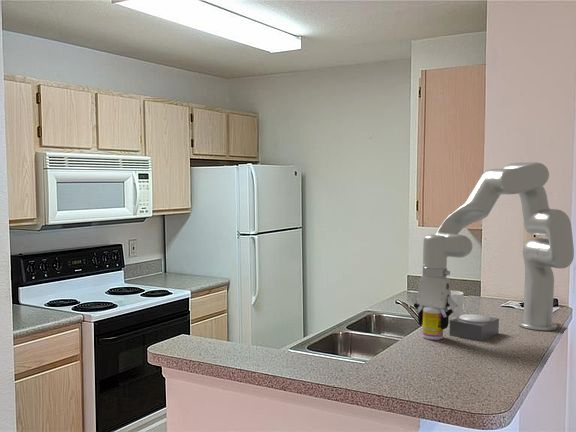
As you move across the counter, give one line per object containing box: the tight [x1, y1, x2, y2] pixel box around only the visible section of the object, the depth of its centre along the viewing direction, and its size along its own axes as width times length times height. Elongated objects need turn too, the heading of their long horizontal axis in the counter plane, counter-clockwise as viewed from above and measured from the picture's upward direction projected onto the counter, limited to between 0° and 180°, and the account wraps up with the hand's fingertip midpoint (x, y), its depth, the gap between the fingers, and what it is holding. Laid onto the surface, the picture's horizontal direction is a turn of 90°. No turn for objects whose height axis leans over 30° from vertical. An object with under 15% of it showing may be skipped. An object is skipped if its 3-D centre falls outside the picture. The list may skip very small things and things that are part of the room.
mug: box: [447, 290, 467, 323], centre depth 217 cm, size 12×8×10 cm
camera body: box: [449, 313, 500, 342], centre depth 196 cm, size 14×11×6 cm
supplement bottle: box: [421, 302, 444, 341], centre depth 191 cm, size 7×7×13 cm
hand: (432, 325), depth 191 cm, fingers open, 7 cm apart
